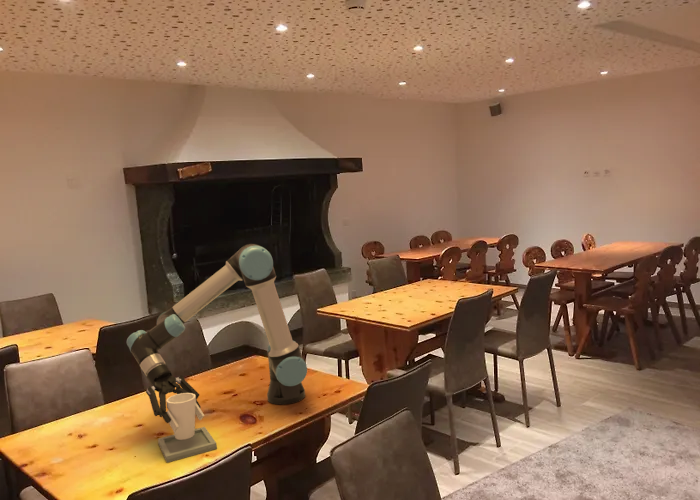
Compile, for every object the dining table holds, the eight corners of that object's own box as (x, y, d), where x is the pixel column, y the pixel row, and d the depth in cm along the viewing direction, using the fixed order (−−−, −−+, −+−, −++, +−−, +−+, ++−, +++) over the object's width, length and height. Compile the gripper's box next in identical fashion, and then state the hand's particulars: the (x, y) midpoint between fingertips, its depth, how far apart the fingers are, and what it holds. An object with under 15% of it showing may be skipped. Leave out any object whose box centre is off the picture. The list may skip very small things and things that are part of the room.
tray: (205, 432, 202) (204, 426, 201) (216, 448, 188) (216, 443, 187) (158, 444, 194) (157, 438, 194) (166, 462, 180) (166, 456, 180)
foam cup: (187, 427, 197) (183, 391, 196) (205, 432, 192) (201, 395, 190) (164, 438, 189) (160, 400, 188) (182, 444, 184) (178, 405, 183)
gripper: (179, 367, 207) (211, 417, 199) (123, 386, 189) (156, 442, 181) (186, 354, 203) (220, 405, 195) (130, 373, 185) (164, 429, 177)
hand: (189, 423), depth 188 cm, fingers closed on foam cup, 9 cm apart
